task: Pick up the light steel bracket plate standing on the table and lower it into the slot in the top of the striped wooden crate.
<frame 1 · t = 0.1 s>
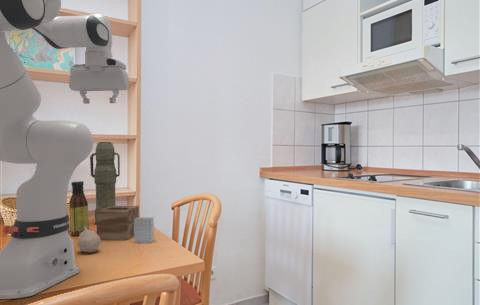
hand: (99, 103, 114), 48 cm above the table, tool pointing down, fingers open, 8 cm apart
garlic bulb: (89, 252, 101), on the table
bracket: (144, 241, 112), on the table
sauce bottle: (79, 234, 123), on the table
thermos: (105, 223, 141), on the table
striped wooden crate: (118, 235, 120), on the table
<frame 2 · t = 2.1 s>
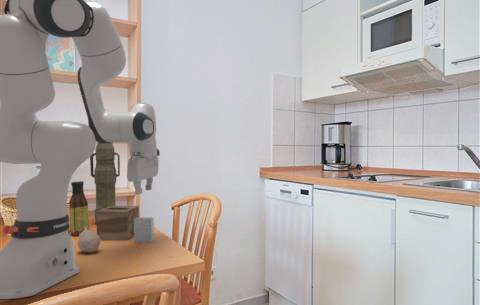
hand: (143, 192, 112), 17 cm above the table, tool pointing down, fingers open, 8 cm apart
nothing on the table moved.
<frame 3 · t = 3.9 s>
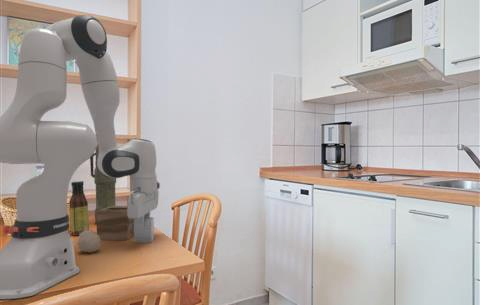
hand: (143, 226, 112), 5 cm above the table, tool pointing down, fingers closed on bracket, 2 cm apart
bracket: (144, 241, 112), on the table, touching gripper
everything else where it was.
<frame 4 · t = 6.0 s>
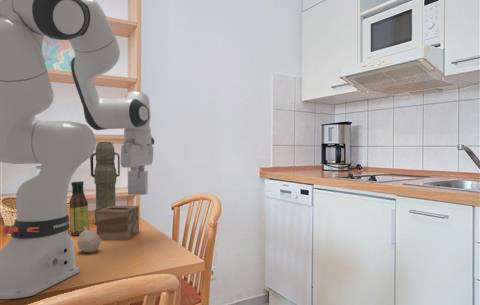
hand: (138, 179, 113), 21 cm above the table, tool pointing down, fingers closed on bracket, 2 cm apart
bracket: (137, 194, 113), point 16 cm above the table, touching gripper
everything else where it was.
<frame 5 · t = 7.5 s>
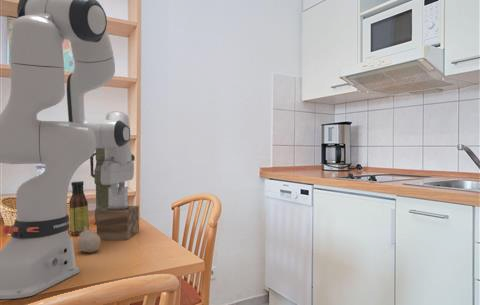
hand: (118, 194, 119), 15 cm above the table, tool pointing down, fingers closed on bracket, 2 cm apart
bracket: (118, 208, 119), point 10 cm above the table, touching gripper
everything else where it was.
when the fingers open (11 cm above the table, at t = 8.5 s): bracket stays where it is, resting on striped wooden crate.
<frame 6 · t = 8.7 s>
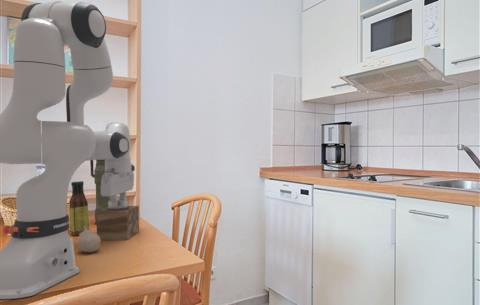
hand: (118, 205, 119), 11 cm above the table, tool pointing down, fingers open, 4 cm apart
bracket: (118, 222, 119), point 5 cm above the table, touching striped wooden crate
everything else where it was.
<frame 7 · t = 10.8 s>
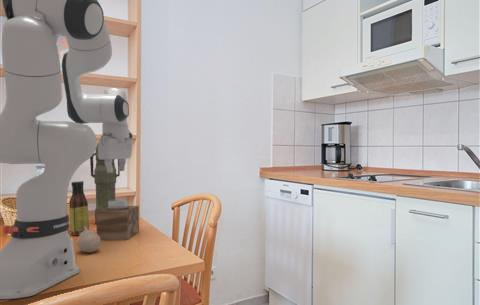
hand: (116, 171, 119), 24 cm above the table, tool pointing down, fingers open, 8 cm apart
nothing on the table moved.
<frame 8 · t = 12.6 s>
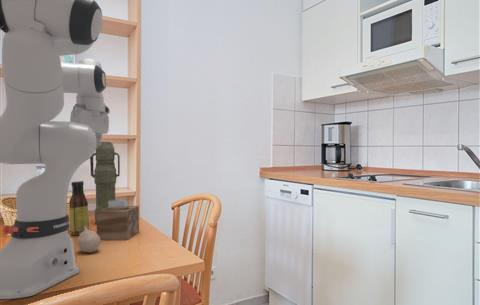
hand: (90, 145, 116), 33 cm above the table, tool pointing down, fingers open, 8 cm apart
nothing on the table moved.
at the end: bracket 0.1 cm off-centre on the striped wooden crate, point 5.0 cm above the striped wooden crate's base; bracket tilted 0°; the gripper is holding nothing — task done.
